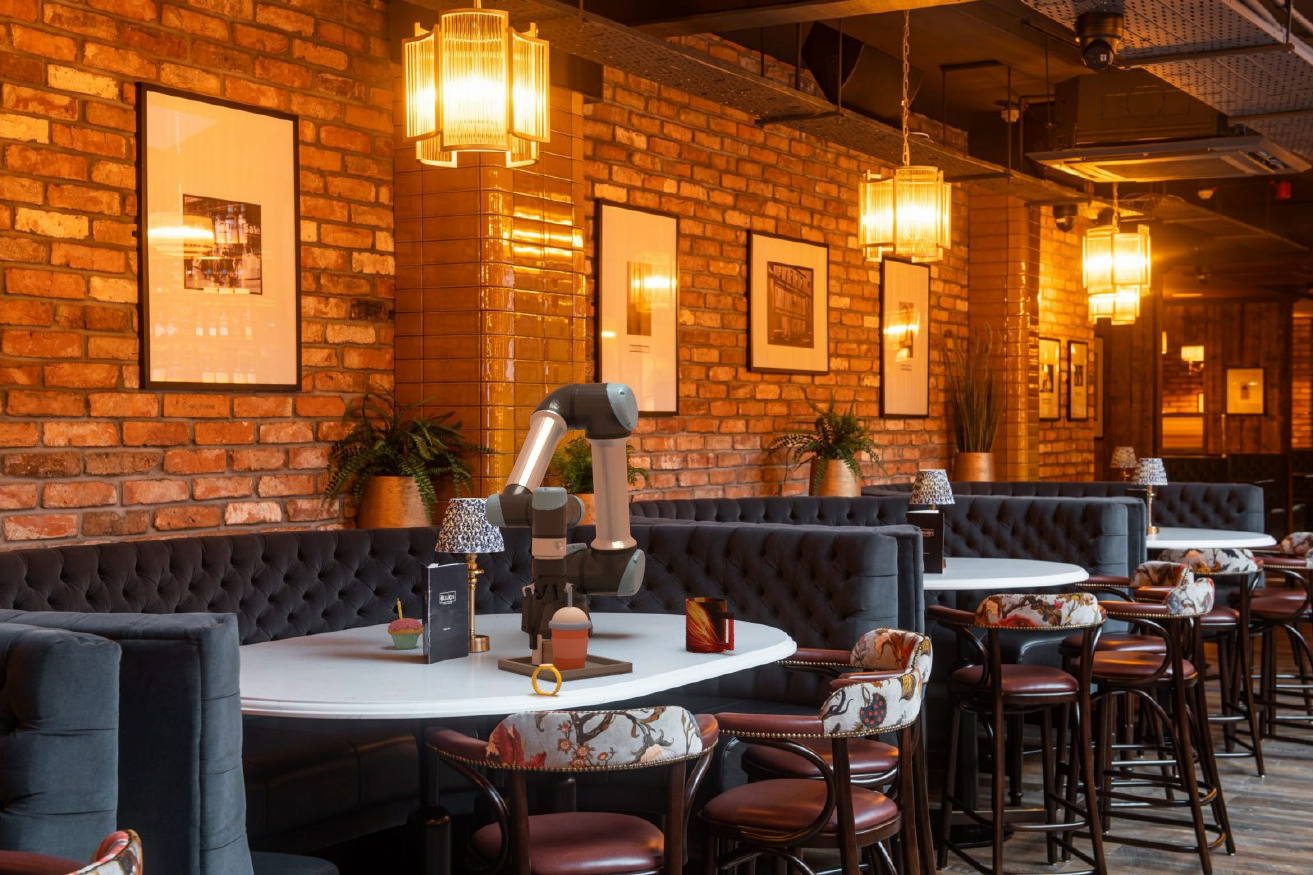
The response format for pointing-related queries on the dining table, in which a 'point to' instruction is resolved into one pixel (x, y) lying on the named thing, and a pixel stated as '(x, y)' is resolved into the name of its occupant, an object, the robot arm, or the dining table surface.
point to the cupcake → (405, 631)
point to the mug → (708, 626)
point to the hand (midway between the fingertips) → (548, 663)
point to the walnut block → (547, 652)
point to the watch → (557, 674)
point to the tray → (593, 668)
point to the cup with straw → (569, 636)
